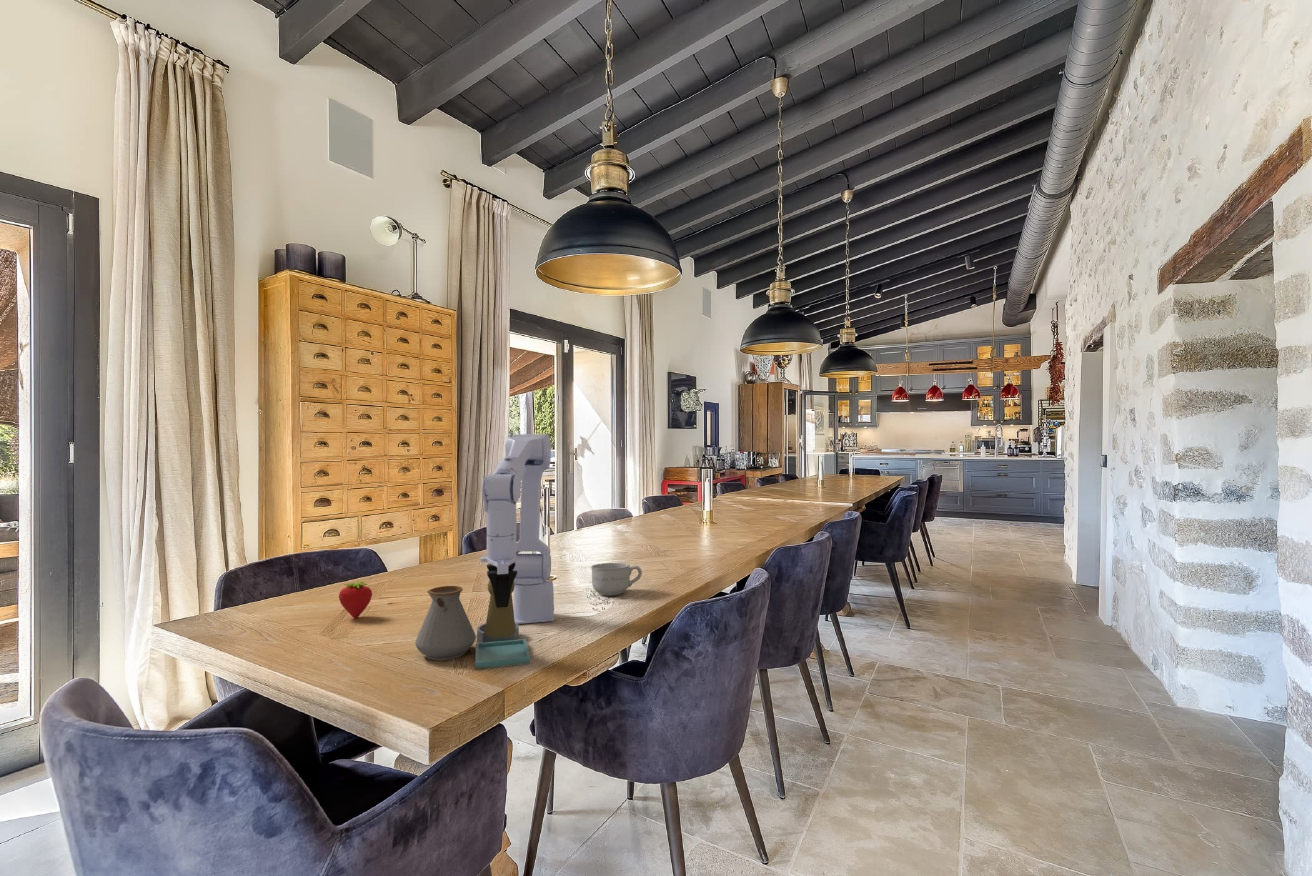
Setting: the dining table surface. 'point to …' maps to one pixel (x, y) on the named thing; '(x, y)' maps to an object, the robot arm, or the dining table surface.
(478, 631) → the ring
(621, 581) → the teacup
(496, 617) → the cork
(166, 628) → the dining table surface
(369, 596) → the strawberry
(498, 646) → the tray
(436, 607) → the coffee pot
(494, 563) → the robot arm
